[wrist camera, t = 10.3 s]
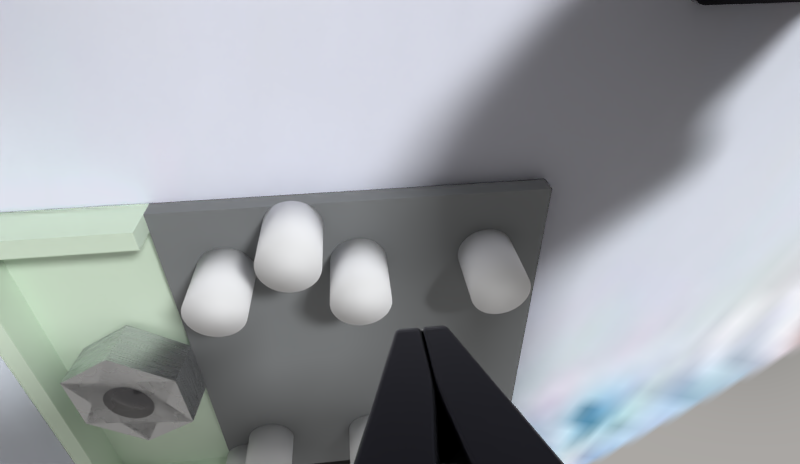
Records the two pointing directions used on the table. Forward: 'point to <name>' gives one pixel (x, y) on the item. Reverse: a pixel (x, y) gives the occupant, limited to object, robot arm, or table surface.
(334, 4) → the table surface
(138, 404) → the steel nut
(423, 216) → the spacer field
